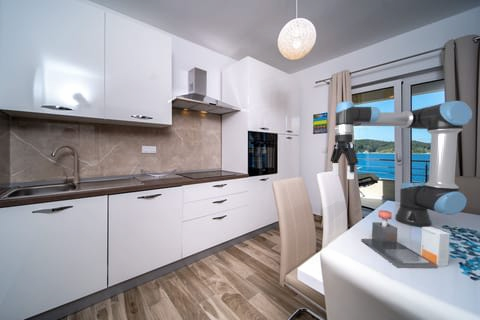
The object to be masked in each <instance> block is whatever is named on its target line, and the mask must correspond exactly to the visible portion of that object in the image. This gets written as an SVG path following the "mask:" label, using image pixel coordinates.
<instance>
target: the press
mask: <svg viewBox="0 0 480 320" xmlns="http://www.w3.org/2000/svg"><path fill="white" fill-rule="evenodd" d="M371 225H372V227H371V238H361V239H360V240H361V242H362V243H363V244H364V245H365V246H366V247H368V248H370V249H371V250H372V251H374V252H375V253H376V254H378V255H379V256H381V257H382V258H383V259H385V260H386V261H387V260H388V261H387V262H389V263H390V264H391V263H392V266H394V267H396V268H397V269H438V266H437V264H435V263H433V262H432V261H430V260H428V259H426V258H425V257H423V256H421V254H419V253H418V252H416V251H414V250H413V249H410V248H409V247H407V246H406V245H404V244H402V243H400V242H398V227H396V226H395V225H393V224H391V223H388V222H387V226H382V221H381V222H379V221H378V222H374V221H373V222H372V224H371Z"/></svg>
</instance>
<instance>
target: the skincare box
mask: <svg viewBox="0 0 480 320" xmlns="http://www.w3.org/2000/svg"><path fill="white" fill-rule="evenodd" d="M450 238H451V233H450V232H446V231H444V230H442V229H439V228H435V227H433V226H431V227H421V241H420V255H421V256H423V257H425V258H426V259H428V260H430V261H432V262H433V263H435V264H437V267H447V266H448V265H449V255H450V254H449V251H450Z"/></svg>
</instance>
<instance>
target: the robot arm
mask: <svg viewBox="0 0 480 320" xmlns="http://www.w3.org/2000/svg"><path fill="white" fill-rule="evenodd" d="M380 110H381V109H380V108H379V107H378V106H355V105H354V102H353V101H349V100H346V101H340V102H339V103H337V104H336V107H335V127H334V129H335V130H334V131H335V132H334V133H335V135H334V143H337V144H333V149H332V153H331V157H330V162H331V163H332V176H339V163H340V162H339V161H340V159H341V157H342V155H344V157H345V159H346V162H347V172H346V173H347V174H346V179H347V180H354V179H355V166H356V165H358V164H359V159H358V156H357V153H356V149H355V143H352V142H353V132H354V130H353V129H354V127H398V128H399V127H400V128H402V129H413V130H414V129H417V130H427V133H428V134H430V136H431V137H430V140H431V141H430V155H429V156H430V157H429V173H428V174H429V175H428V181H427V182H402V183H401V184H400V188H399V194H400V195H399V208H398V210H397V212H396V214H395V221H397V222H399V223H402V224H404V225H407V226H413V227H419V228H422V227H432V220H431V219H430V214H429V212H428V211H433V212H436V213H438V214H443V215H447V216H452V215H453V216H454V215H457V214H459V213H460V212H462V211H463V210H464V209H465V208H466V205H467V197H466V196H465V195H464V194H463V193H462V192H460V187H459V186H458V185H457V184H456V183H455V179H456V164H457V163H456V161H457V148H458V134H459V133H460V132H462V131H463V129H464V126H465V125H466V124H469V122H470V121H471V120H472V117H473V111H472V109H471V107H470V106H469V105H468V104H467V103H466V102H464V101H462V100H453V101H445V102H441V103H438V104H435V105H430V106H426V107H422V108H417V109H414V110H403V111H402V112H387V111H386V112H383V111H382V112H381V111H380Z"/></svg>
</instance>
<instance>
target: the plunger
mask: <svg viewBox="0 0 480 320" xmlns="http://www.w3.org/2000/svg"><path fill="white" fill-rule="evenodd" d="M392 214H393V213H392V212H391V211H389V210H388V211H387V210H381V209H380V210H378V218H380V219H381V222H382V226H387V223H388V220H392V216H393V215H392Z"/></svg>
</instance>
